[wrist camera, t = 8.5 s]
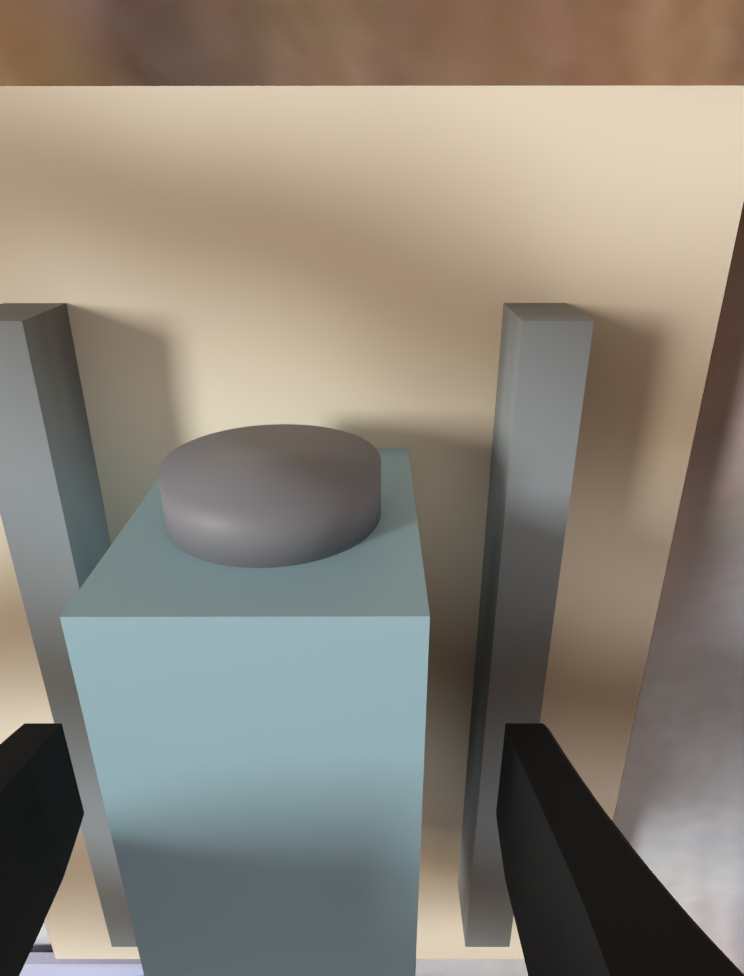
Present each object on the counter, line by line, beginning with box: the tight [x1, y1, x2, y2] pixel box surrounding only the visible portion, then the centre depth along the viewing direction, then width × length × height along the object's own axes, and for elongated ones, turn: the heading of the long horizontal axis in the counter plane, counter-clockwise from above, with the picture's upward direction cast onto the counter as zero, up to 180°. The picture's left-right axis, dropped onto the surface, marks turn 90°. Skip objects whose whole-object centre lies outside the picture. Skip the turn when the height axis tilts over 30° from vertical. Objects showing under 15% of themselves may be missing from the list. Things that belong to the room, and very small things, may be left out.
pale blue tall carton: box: [60, 424, 430, 976], centre depth 11 cm, size 10×4×5 cm, turn 0°
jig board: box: [0, 86, 744, 959], centre depth 13 cm, size 20×14×2 cm
